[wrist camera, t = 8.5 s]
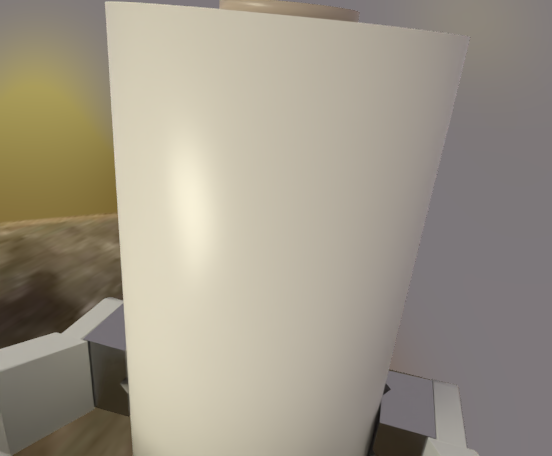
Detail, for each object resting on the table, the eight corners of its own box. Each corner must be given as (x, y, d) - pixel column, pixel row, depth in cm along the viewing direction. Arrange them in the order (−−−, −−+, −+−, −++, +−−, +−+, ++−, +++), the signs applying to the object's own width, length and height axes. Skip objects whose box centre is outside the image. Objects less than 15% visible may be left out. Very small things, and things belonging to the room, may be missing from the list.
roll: (106, 700, 11) (4, -31, 5) (193, 514, 16) (202, 5, 9) (297, 791, 10) (511, 7, 4) (332, 564, 15) (455, 28, 8)
